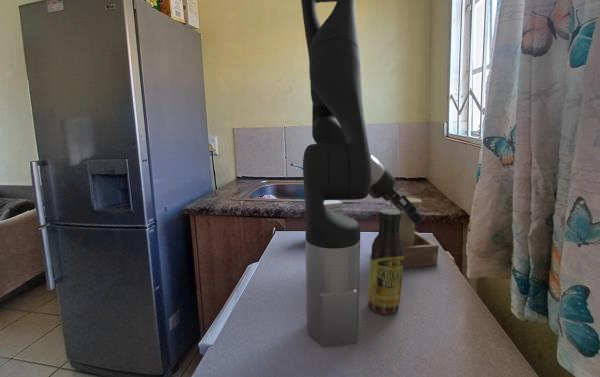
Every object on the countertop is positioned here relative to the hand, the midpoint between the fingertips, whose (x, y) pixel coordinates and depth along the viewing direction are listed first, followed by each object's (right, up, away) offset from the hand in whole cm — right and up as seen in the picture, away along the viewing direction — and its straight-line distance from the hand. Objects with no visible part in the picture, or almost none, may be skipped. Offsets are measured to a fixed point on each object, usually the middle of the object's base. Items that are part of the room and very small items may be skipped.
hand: (414, 218), depth 90 cm
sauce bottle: (-13, -16, -22) cm, 30 cm away
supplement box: (-22, -8, +16) cm, 28 cm away
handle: (-2, -10, +1) cm, 10 cm away
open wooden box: (-1, -11, +2) cm, 11 cm away
